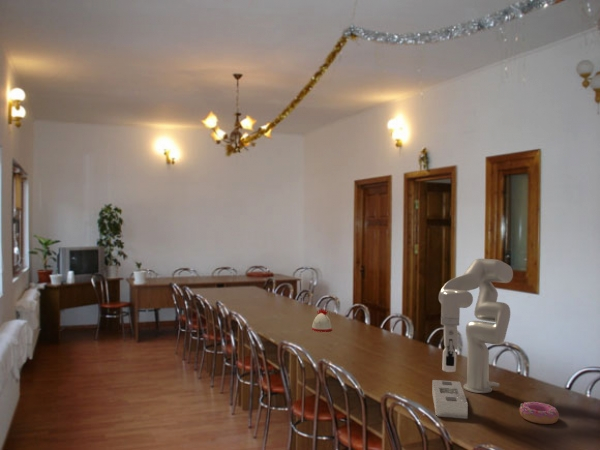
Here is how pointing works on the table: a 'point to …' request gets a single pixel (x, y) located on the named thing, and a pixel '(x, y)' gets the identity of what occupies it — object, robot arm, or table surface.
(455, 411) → the white block holder
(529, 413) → the donut
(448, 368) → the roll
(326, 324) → the cream hat
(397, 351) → the table surface
